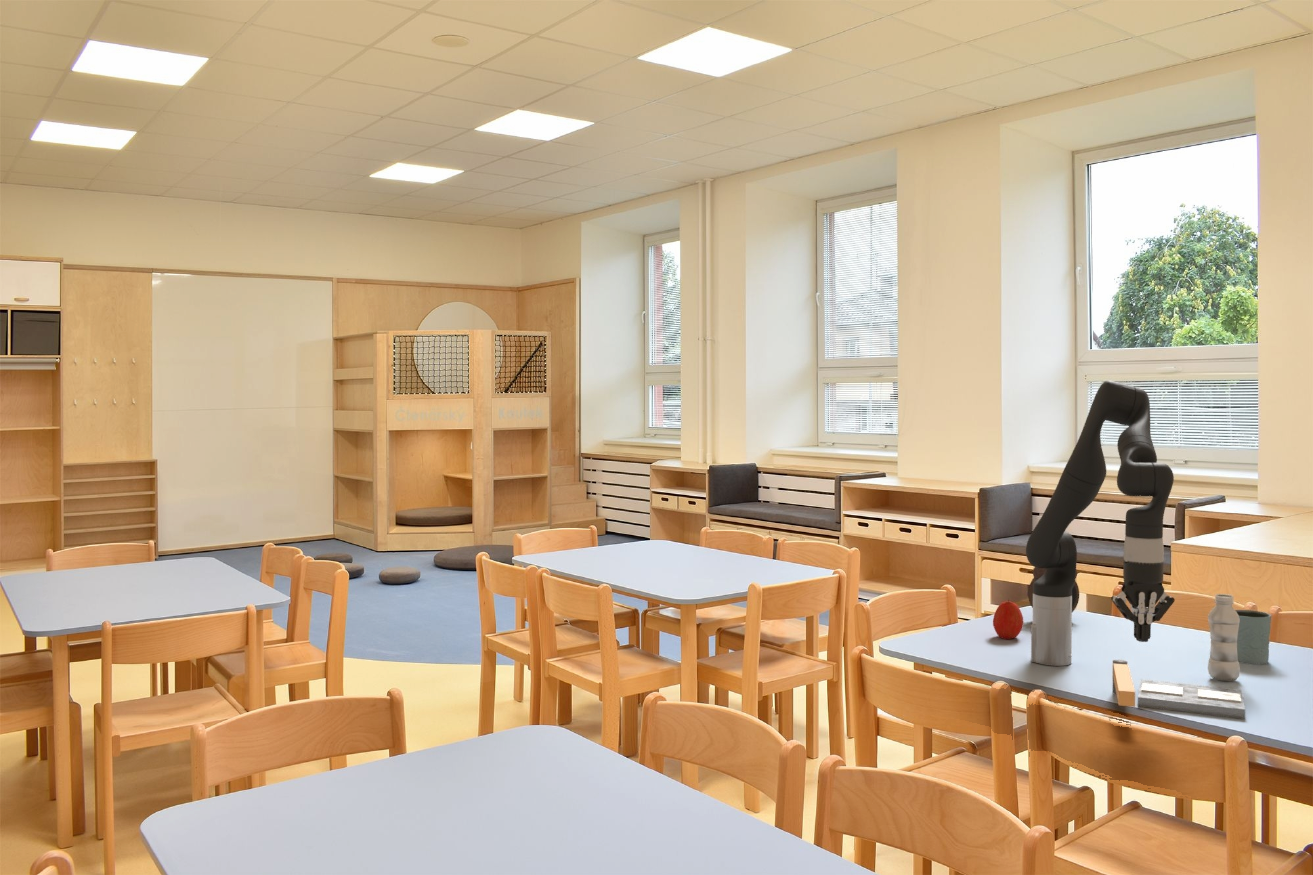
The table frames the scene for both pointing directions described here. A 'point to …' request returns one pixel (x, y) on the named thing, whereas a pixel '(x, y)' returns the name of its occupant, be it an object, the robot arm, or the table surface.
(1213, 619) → the plastic bottle
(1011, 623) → the apple
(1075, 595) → the alarm clock
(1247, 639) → the teal cup
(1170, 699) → the label board
